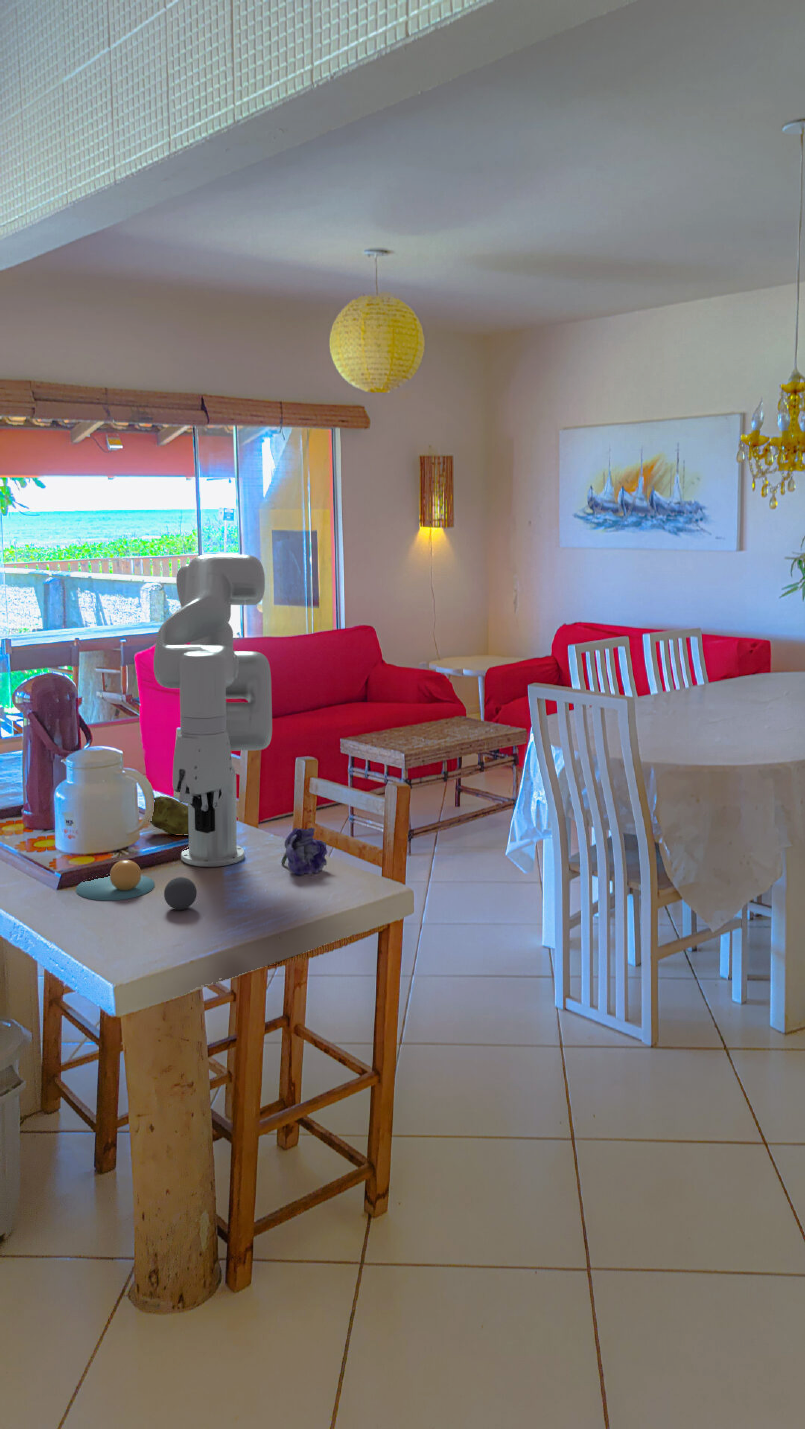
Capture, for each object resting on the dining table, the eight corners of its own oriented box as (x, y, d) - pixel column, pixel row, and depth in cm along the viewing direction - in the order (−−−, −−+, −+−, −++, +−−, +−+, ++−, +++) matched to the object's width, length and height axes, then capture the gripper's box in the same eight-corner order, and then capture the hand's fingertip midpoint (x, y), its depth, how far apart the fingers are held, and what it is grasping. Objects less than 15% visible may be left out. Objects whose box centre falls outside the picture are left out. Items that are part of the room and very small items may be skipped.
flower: (259, 836, 208) (301, 820, 204) (284, 843, 215) (325, 827, 212) (266, 881, 204) (309, 866, 201) (292, 887, 212) (334, 872, 208)
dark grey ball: (204, 889, 185) (197, 914, 188) (193, 870, 189) (186, 895, 192) (173, 890, 182) (166, 917, 184) (163, 871, 186) (156, 897, 188)
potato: (192, 842, 225) (191, 805, 223) (139, 835, 229) (138, 799, 227) (211, 831, 233) (211, 796, 231) (159, 825, 237) (159, 790, 235)
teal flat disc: (92, 873, 205) (92, 872, 205) (163, 876, 204) (163, 875, 204) (64, 898, 191) (64, 897, 191) (141, 902, 190) (141, 901, 190)
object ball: (141, 858, 194) (146, 889, 194) (136, 855, 199) (140, 884, 199) (109, 865, 192) (114, 895, 192) (105, 861, 197) (110, 891, 197)
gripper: (218, 716, 187) (219, 817, 190) (154, 729, 175) (156, 837, 178) (250, 721, 183) (251, 824, 186) (187, 735, 171) (189, 845, 174)
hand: (205, 830), depth 182 cm, fingers closed
